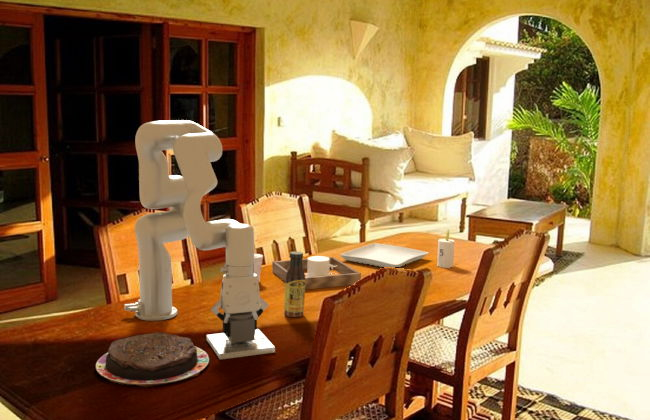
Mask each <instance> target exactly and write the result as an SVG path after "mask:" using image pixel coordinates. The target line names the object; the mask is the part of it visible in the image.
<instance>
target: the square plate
mask: <svg viewBox="0 0 650 420" xmlns="http://www.w3.org/2000/svg"><path fill="white" fill-rule="evenodd" d="M428 254H429V252H428V251H425V250H420V249H414V248H409V247H404V246H397V245H391V244H382V243H378V242H377V243H376V242H374V243H371V244H367V245H363V246H360V247H357V248H353V249H351V250H349V251H345V252H342V253H341V254H339V256H340V258H342V259H344V260H345V261H348V262H353V263H357V262H358V264H362V263H363V264H362V265H367V264H369V265H368V266H372V265H374V267H377V266H379V267H378V268H382V267H399V268H400V267H403V266H405V264H406V265H408V264H411V263H413V261H414V262H416V261H418V260H421V259H423V258H425V257H426V256H427V255H428Z"/></svg>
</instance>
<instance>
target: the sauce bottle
mask: <svg viewBox="0 0 650 420" xmlns="http://www.w3.org/2000/svg"><path fill="white" fill-rule="evenodd" d="M289 258H290V268H289V269H288V271H287V273H286V281H284V299H283V300H284V303H283V311H284V312H283V313H284V314H283V315H284V316H286V317H288V318H300V317H303V315H304V311H305V296H306V295H305V293H306V289H305V277H306V275H305V270H303V268H302V259H304V252H302V251H291V252H290V253H289Z"/></svg>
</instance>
